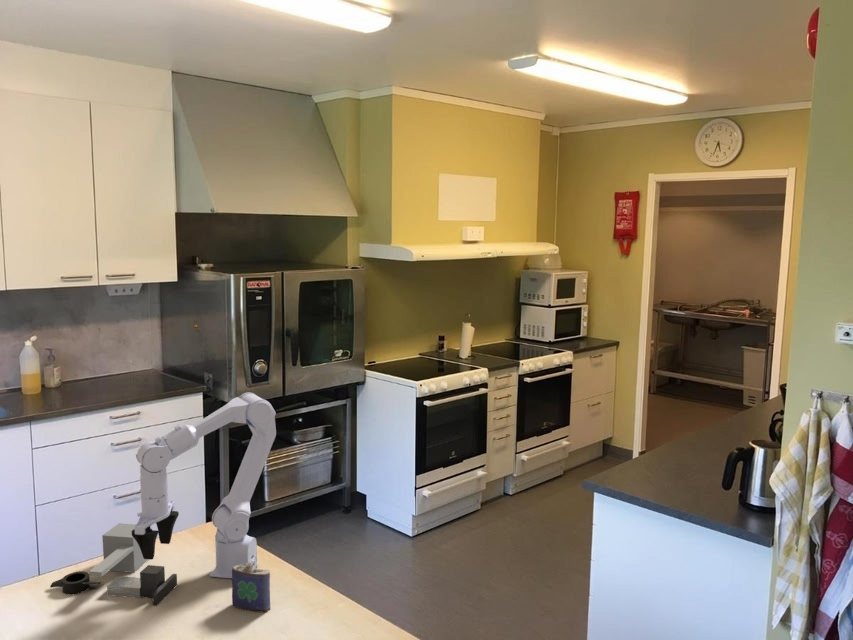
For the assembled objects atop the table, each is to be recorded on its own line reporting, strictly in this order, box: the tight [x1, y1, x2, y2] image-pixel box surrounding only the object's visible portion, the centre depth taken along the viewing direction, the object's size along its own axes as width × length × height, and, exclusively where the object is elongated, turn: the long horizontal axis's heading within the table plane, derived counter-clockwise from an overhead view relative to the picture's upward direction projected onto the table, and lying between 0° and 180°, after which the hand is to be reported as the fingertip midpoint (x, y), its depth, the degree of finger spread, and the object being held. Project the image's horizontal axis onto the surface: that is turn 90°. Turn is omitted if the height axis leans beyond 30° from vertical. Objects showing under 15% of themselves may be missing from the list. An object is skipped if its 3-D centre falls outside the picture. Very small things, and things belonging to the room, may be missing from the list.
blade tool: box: [106, 564, 178, 607], centre depth 159 cm, size 14×9×6 cm, turn 82°
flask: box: [231, 561, 271, 613], centre depth 153 cm, size 9×3×11 cm, turn 74°
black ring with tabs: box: [49, 570, 103, 596], centre depth 161 cm, size 8×10×3 cm
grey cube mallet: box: [88, 523, 149, 577], centre depth 165 cm, size 8×20×9 cm, turn 172°
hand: (157, 550), depth 159 cm, fingers open, 7 cm apart
